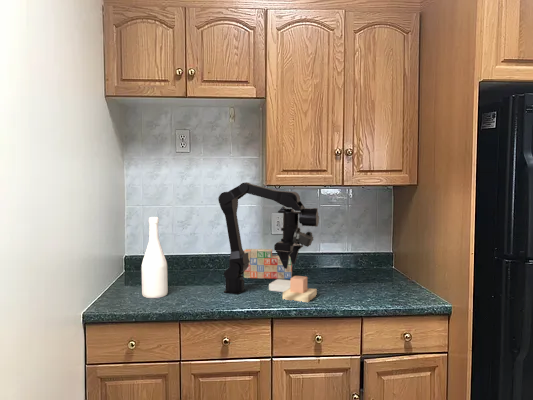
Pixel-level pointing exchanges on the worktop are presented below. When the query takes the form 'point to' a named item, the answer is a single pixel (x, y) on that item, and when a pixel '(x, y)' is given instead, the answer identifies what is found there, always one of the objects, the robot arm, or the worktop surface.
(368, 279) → the worktop surface
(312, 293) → the birch slab
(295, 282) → the terracotta cube
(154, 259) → the wine bottle
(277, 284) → the white plastic slab
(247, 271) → the stack of blocks
